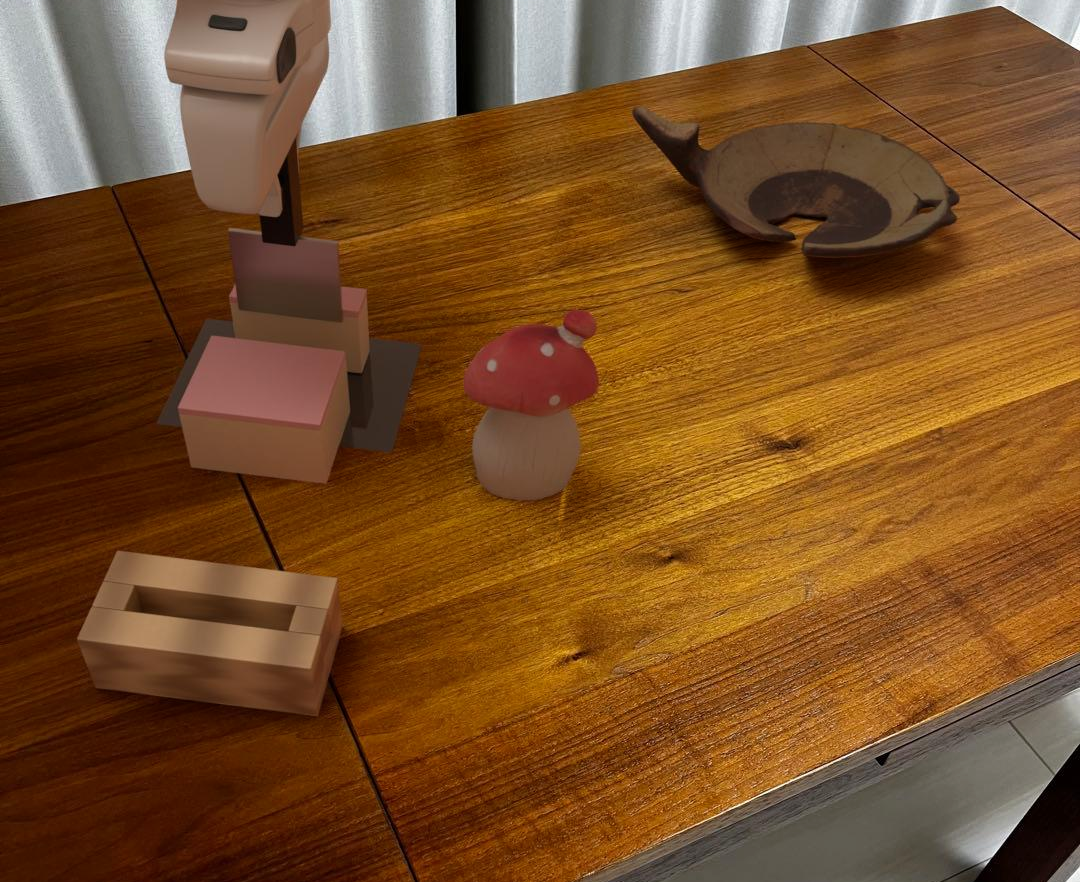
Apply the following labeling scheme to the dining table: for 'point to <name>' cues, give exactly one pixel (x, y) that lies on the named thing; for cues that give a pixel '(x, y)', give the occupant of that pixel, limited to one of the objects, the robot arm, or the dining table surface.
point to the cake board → (370, 392)
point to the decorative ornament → (531, 406)
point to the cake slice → (312, 328)
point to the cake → (266, 409)
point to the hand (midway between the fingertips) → (278, 195)
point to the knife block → (213, 633)
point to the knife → (287, 261)
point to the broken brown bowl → (812, 183)
